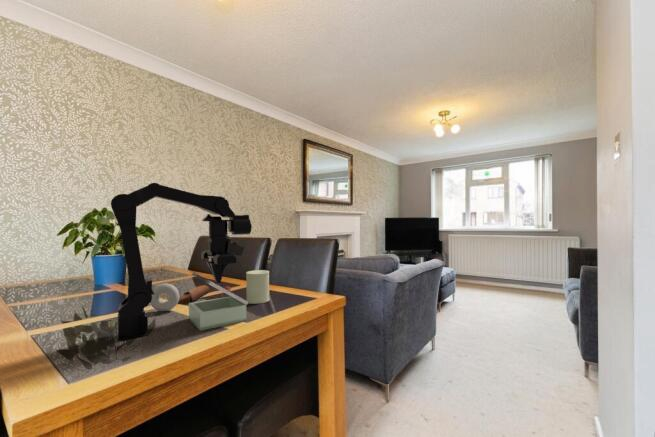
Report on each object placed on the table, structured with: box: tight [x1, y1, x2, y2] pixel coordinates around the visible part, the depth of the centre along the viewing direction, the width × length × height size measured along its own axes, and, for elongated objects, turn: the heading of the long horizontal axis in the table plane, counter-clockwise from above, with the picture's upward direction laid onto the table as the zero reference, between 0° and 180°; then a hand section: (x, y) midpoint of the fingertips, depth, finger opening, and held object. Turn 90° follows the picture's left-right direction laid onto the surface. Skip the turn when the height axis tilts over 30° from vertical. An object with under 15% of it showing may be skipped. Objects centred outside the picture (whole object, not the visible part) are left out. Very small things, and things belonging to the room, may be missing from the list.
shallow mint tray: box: [188, 296, 247, 332], centre depth 94 cm, size 14×14×5 cm
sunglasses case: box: [177, 284, 210, 305], centre depth 122 cm, size 18×7×7 cm, turn 3°
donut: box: [149, 282, 181, 312], centre depth 103 cm, size 10×4×10 cm, turn 97°
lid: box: [191, 271, 250, 306], centre depth 95 cm, size 17×14×2 cm
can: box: [245, 269, 270, 305], centre depth 117 cm, size 9×9×12 cm
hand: (218, 283), depth 94 cm, fingers closed
